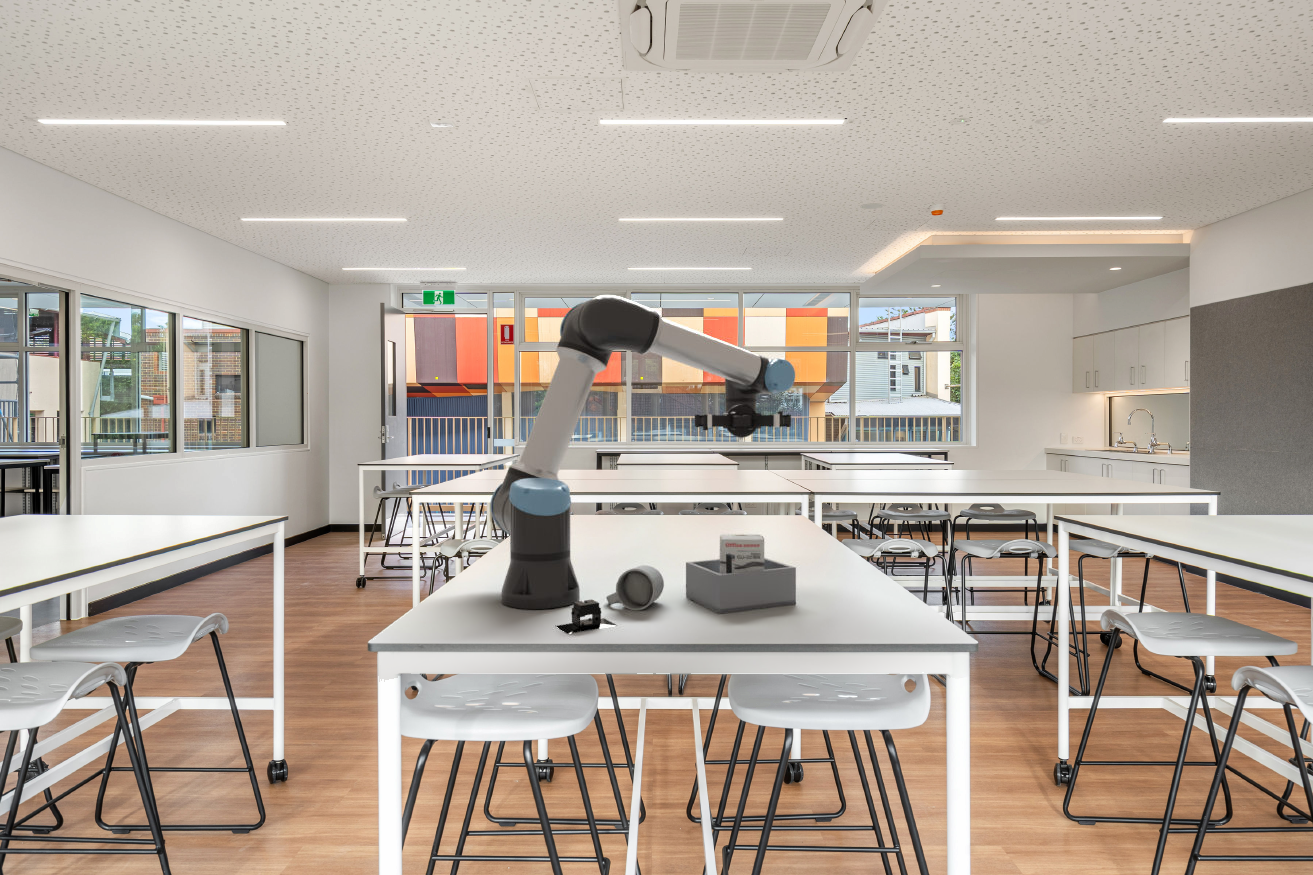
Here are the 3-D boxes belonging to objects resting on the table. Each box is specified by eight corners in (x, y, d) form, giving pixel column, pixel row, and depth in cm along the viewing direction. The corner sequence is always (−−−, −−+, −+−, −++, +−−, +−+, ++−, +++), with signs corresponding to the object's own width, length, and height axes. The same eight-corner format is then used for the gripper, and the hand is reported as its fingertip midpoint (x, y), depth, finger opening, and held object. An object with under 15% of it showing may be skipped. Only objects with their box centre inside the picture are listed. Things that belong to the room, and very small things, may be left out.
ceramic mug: (666, 601, 141) (666, 562, 141) (654, 612, 133) (654, 570, 133) (614, 598, 144) (614, 559, 143) (600, 608, 136) (599, 567, 136)
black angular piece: (609, 618, 130) (609, 593, 130) (628, 628, 124) (628, 602, 124) (544, 629, 124) (544, 602, 124) (561, 640, 118) (561, 612, 118)
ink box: (720, 599, 139) (720, 537, 138) (719, 593, 144) (719, 533, 143) (765, 599, 138) (765, 538, 138) (762, 593, 143) (762, 533, 143)
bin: (686, 597, 144) (685, 562, 144) (757, 589, 151) (757, 555, 150) (719, 613, 131) (719, 575, 131) (795, 603, 138) (795, 567, 138)
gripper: (796, 437, 165) (806, 439, 144) (687, 437, 168) (681, 439, 147) (796, 404, 165) (806, 401, 144) (687, 404, 168) (681, 402, 147)
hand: (743, 420), depth 145 cm, fingers open, 13 cm apart
